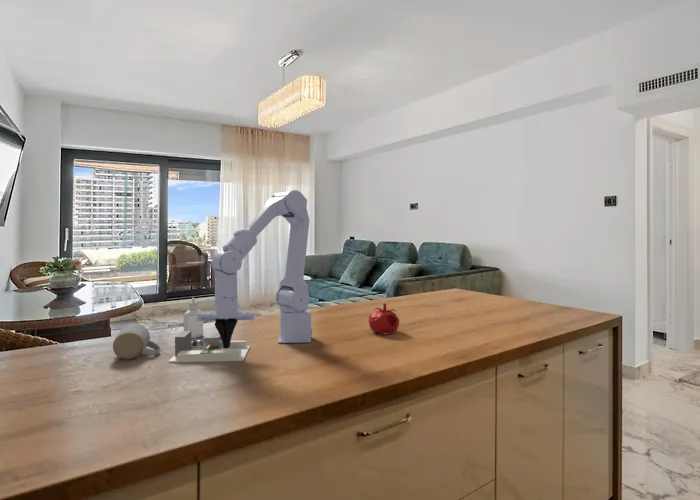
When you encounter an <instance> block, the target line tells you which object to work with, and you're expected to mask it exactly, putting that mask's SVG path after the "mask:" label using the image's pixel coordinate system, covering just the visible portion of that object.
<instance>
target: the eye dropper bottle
mask: <svg viewBox="0 0 700 500" xmlns="http://www.w3.org/2000/svg"><path fill="white" fill-rule="evenodd" d="M198 306H199V304H198V301H196V298H195V297H191V301H190V302H188V310H187V311H185V312H184V314H183V331H191V337H192V340H193V339H197V338H200V337H204V336H203V335H204V321H197V314H198V313H202V312H203V310H201V309H199V307H198Z"/></svg>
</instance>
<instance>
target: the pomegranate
mask: <svg viewBox="0 0 700 500" xmlns="http://www.w3.org/2000/svg"><path fill="white" fill-rule="evenodd" d="M382 305H383V307H382V308H379V307H374V311H372V312H371V313H370V314H369V316H368V325H369V327H370V330H371V331H372V332H373V331H374V332H373V333H375V332H377V333H376V334H379V333H392V334H394V333H395V332H397V330H398V328H399V325H400V319H399V317H398V316H397V314H396V313H395V312H396V309H387V308H388V306H387V303H384V302H383V304H382ZM393 311H394V312H393ZM393 332H394V333H393Z"/></svg>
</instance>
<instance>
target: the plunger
mask: <svg viewBox="0 0 700 500" xmlns="http://www.w3.org/2000/svg"><path fill="white" fill-rule="evenodd" d="M192 342H193V344H192V345H193V347H199V346H203V349H205V350H208V349H222V340H221V337H220V334H219V332H218V333H206V334H205V335H204V336H202V339H196V340H195V339H194V340H193V339H192Z"/></svg>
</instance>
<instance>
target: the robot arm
mask: <svg viewBox="0 0 700 500" xmlns="http://www.w3.org/2000/svg"><path fill="white" fill-rule="evenodd" d="M265 202H266V203H265V204H264V206H263V207H262V208H261V210H260V211H259V212H258V214H256V216H255V217H254V219H253V220H252V221H251V223H250V224H249V225H248V226H247V227H246V228H239V230H235V231H234V232H233V234H232V235H233V237H232V238H231V239H230V240H229V241H228V242H227V243H226V244H224V245H222V250H220V251H217V252H216V253H215V254H214V255H212V259H211V260H212V261H210V266H211V268H212V269H213V271H214V311H207V312H204V311H202V313H198V314H197V321H203V322H205V321H207V322H208V321H209V322H210V321H215V323H214V326H215V329H216V330H217V332H218V333H219V334H220V337H221V340H222V343H223V348H229V347H230V342H231V341H232V336H233V334H234V331H235V328H236V325H237V323H238V321H255V319H256V311H242V310H241V311H240V310H238V306H239V305H238V297H239V295H238V271H239V270H241V268H242V264H243V260H244V258H245V257H246V256H247V255H248V254H249V252H251V251H252V249H254V247H255V246H256V244H257V243H258V240H257V239H258V236H259V235H260V233H261V232H262V231H263V230H264V229H265V228H267V226H268V225H269V224H270V223H271V222H272V221H273V219H275V218H276V217H279V216H281V217H283V218H284V219H285V220H286V222H288V223H289V226H290V229H289V238H288V246H287V255H286V256H287V257H286V265H285V275H284V277H283V279H282V280H281V281H280V282H279V287H278V290H277V291H276V293H275V301H276V304H278V305H279V311H280V312H279V313H280V314H279V315H280V316H279V317H280V320H279V327H280V331H279V336H278V341H277V343H278V344H286V343H287V344H288V343H289V344H296V343H312V335H313V329H312V310H311V309H307V308H308V306H309V304H310V294H309V284H308V283H307V281H305V279H304V276H305V267H306V266H305V265H306V258H307V248H308V239H309V229H310V217H309V213H308V212H309V211H308V208H307V205H308V199H307V198H306V197H305V195H304V194H303V193H302V192H301V191H299V190H297V189H293V190H289V191H277V192H275V193H273V194H272V195H271V197H269V199H267V200H266V201H265Z"/></svg>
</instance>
